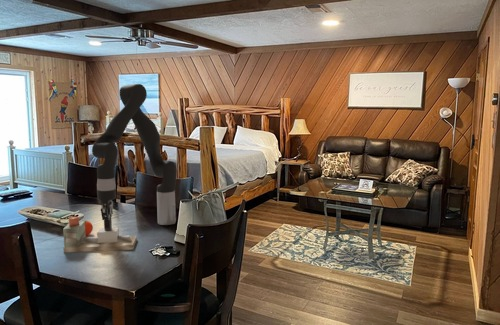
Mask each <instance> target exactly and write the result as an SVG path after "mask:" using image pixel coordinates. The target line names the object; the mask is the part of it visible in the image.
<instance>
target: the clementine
mask: <svg viewBox="0 0 500 325" xmlns="http://www.w3.org/2000/svg"><path fill="white" fill-rule="evenodd" d="M84 221H85V236H86V237H87V236H89V235H90V234H91V233H92V232H93V230H94V229H93V228H94V226H93V223H91V222H90V221H88V220H84Z"/></svg>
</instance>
